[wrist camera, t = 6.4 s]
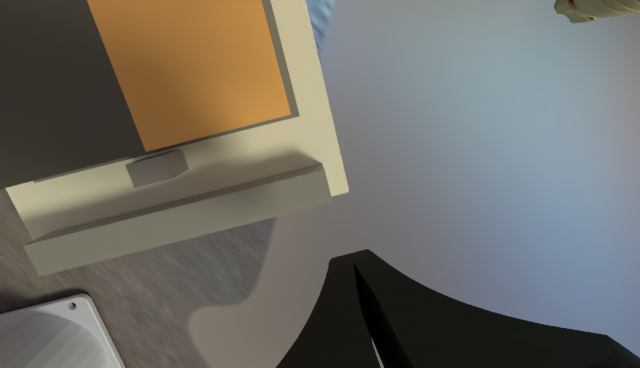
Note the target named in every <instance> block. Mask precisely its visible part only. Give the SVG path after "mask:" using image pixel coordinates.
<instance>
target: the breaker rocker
mask: <svg viewBox="0 0 640 368" xmlns="http://www.w3.org/2000/svg"><path fill="white" fill-rule="evenodd" d="M287 115H291V112H290V108H289V104H288V100H287V97H286V93H285V89H284V85H283V81H282V77H281V74H280V70H279V66H278V62H277V58H276V54H275V51H274V47H273V43H272V39H271V35H270V31H269V28H268V24H267V20H266V16H265V12H264V8H263V5H262V1H261V0H0V189H4V188H8V187H12V186H15V185H19V184H23V183H27V182H31V181H35V180H39V179H43V178H46V177H50V176H54V175H58V174H62V173H66V172H70V171H74V170H78V169H81V168H85V167H89V166H93V165H97V164H101V163H105V162H109V161H112V160H116V159H120V158H124V157H128V156H132V155H136V154H140V153H143V152H147V151H151V150H155V149H159V148H163V147H167V146H171V145H174V144H178V143H182V142H186V141H190V140H194V139H198V138H202V137H206V136H209V135H213V134H217V133H221V132H225V131H229V130H233V129H237V128H240V127H244V126H248V125H252V124H256V123H260V122H264V121H268V120H271V119H275V118H279V117H283V116H287Z"/></svg>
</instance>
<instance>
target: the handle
mask: <svg viewBox="0 0 640 368" xmlns="http://www.w3.org/2000/svg"><path fill="white" fill-rule="evenodd" d="M554 8H555V10H556V12H557V13H558V14H564V15H566V16H567V17H568V18H569V19H570V22H572V23H585V22H591V21H596V19H597V18H598V17H600V18H604V17H614V16H622V15H628V14H634V13H640V0H556V3H555V5H554Z"/></svg>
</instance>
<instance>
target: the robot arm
mask: <svg viewBox="0 0 640 368" xmlns="http://www.w3.org/2000/svg"><path fill="white" fill-rule="evenodd" d="M72 302H73V303H75V304H76V306H75V305H73V304H72ZM371 337H372V339H373V342H374V344H375V346H376V349H377V351H378V354H379V356H380V358H381V361H382V363H383V366H384V368H640V358H639V357H638V356H636V355H635V354H633V353H632V352H630V351H629V350H628V349H626V348H625V347H623V346H622V345H620V344H619V343H618V342H616V341H615V340H613V339H612V338H610V337H609V336H607V335H603V334H596V333H590V332H585V331H579V330H573V329H567V328H560V327H555V326H548V325H544V324H539V323H534V322H530V321H526V320H522V319H517V318H513V317H509V316H505V315H502V314H498V313H494V312H490V311H488V310H484V309H481V308H478V307H475V306H472V305H469V304H466V303H463V302H460V301H458V300H455V299H453V298H450V297H448V296H445V295H443V294H441V293H438V292H436V291H434V290H432V289H430V288H428V287H426V286H424V285H422V284H420V283H418V282H416V281H414V280H413V279H411V278H409V277H407V276H406V275H404V274H403V273H401V272H400V271H398V270H397V269H395V268H393V267H392V266H391V265H389V264H388V263H386V262H385V261H384V260H382V259H381V258H380V257H378V256H377V255H376V254H374V253H373V252H372V251H370V250H369V249H366V250H362V251H358V252H354V253H350V254H347V255H343V256H338V257H335V258H332V259H331V260H330V262H329V267H328V272H327V275H326V279H325V282H324V284H323V287H322V290H321V293H320V295H319V298H318V300H317V302H316V304H315V306H314V309H313V311H312V313H311V315H310V317H309V319H308V321H307V323H306V324H305V326H304V328H303V330H302V331H301V333H300V335H299V336H298V338H297V340H296V341H295V342H294V344H293V345H292V347H291V348H290V349H289V351H288V352H287V354H286V355H285V356H284V358H283V359H282V360H281V362H280V363H279V364H278V366H277V367H276V368H381V367H380V364H379V362H378V359H377V356H376V353H375V350H374V347H373V344H372V339H371ZM0 368H125V366H124V364H123V362H122V360H121V358H120V356H119V354H118V352H117V350H116V347H115V345H114V343H113V341H112V339H111V337H110V335H109V333H108V331H107V329H106V327H105V325H104V323H103V321H102V319H101V317H100V315H99V313H98V311H97V309H96V307H95V305H94V303H93V301H92V299H91V298H90V296H88V295H87V294H78V295H74V296H70V297H66V298H62V299H58V300H54V301H50V302H46V303H42V304H38V305H35V306H31V307H27V308H23V309H19V310H15V311H11V312H7V313H3V314H0Z"/></svg>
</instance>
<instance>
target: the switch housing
mask: <svg viewBox="0 0 640 368" xmlns="http://www.w3.org/2000/svg"><path fill="white" fill-rule="evenodd" d="M261 1H262V5H263V8H264V12H265V16H266V20H267V24H268V28H269V31H270V35H271V39H272V43H273V47H274V51H275V54H276V58H277V62H278V66H279V70H280V74H281V77H282V81H283V85H284V89H285V93H286V97H287V100H288V104H289V108H290V112H291V115H287V116H283V117H279V118H275V119H271V120H268V121H264V122H260V123H256V124H252V125H248V126H244V127H240V128H237V129H233V130H229V131H225V132H221V133H217V134H213V135H209V136H206V137H202V138H198V139H194V140H190V141H186V142H182V143H178V144H174V145H171V146H167V147H163V148H159V149H155V150H151V151H147V152H143V153H140V154H136V155H132V156H128V157H124V158H120V159H116V160H112V161H109V162H105V163H101V164H97V165H93V166H89V167H85V168H81V169H78V170H74V171H70V172H66V173H62V174H58V175H54V176H50V177H46V178H43V179H39V180H35V181H31V182H27V183H23V184H19V185H15V186H12V187H8V188H6V190H7V192H8V194H9V196H10V198H11V200H12V202H13V204H14V206H15V207H16V209H17V211H18V213H19V215H20V217H21V219H22V221H23V223H24V225H25V227H26V229H27V230H28V232H29V234H30V236H31V238H32V240H33V241H31V242H29V243H27V244H25V245H24V246H23V247H24V249H25V251H26V253H27V254H28V256H29V258H30V260H31V262H32V264H33V266H34V268H35V269H36V271H37V273H38V275H39V277H40V276H44V275H47V274H51V273H55V272H59V271H63V270H67V269H71V268H75V267H79V266H83V265H87V264H91V263H95V262H99V261H103V260H107V259H111V258H115V257H119V256H123V255H127V254H131V253H135V252H138V251H142V250H146V249H150V248H154V247H158V246H162V245H166V244H170V243H174V242H178V241H182V240H186V239H190V238H194V237H198V236H202V235H206V234H210V233H214V232H218V231H222V230H225V229H229V228H233V227H237V226H241V225H245V224H249V223H253V222H257V221H261V220H265V219H269V218H273V217H277V216H281V215H284V214H289V213H293V212H297V211H301V210H304V209H308V208H312V207H316V206H320V205H324V204H328V203H332V198H331V196H335V195H339V194H343V193H347V192H349V189H348V185H347V181H346V176H345V171H344V167H343V163H342V158H341V154H340V150H339V145H338V141H337V137H336V132H335V128H334V123H333V119H332V115H331V110H330V106H329V101H328V97H327V93H326V88H325V84H324V79H323V75H322V71H321V66H320V62H319V58H318V53H317V49H316V44H315V40H314V36H313V31H312V27H311V23H310V18H309V14H308V9H307V5H306V1H305V0H261Z"/></svg>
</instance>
